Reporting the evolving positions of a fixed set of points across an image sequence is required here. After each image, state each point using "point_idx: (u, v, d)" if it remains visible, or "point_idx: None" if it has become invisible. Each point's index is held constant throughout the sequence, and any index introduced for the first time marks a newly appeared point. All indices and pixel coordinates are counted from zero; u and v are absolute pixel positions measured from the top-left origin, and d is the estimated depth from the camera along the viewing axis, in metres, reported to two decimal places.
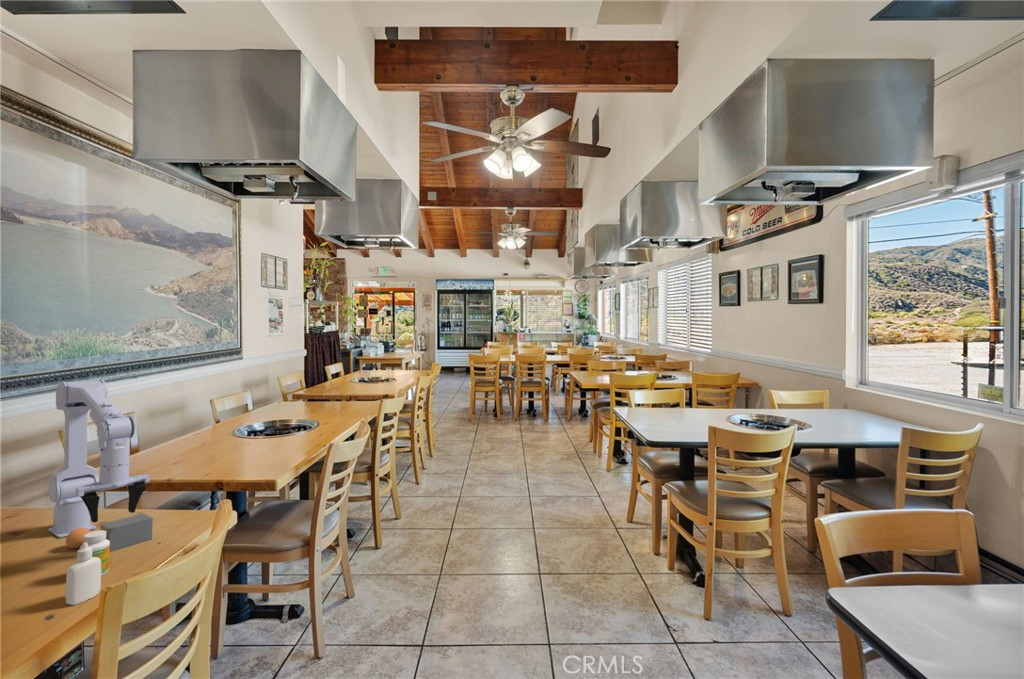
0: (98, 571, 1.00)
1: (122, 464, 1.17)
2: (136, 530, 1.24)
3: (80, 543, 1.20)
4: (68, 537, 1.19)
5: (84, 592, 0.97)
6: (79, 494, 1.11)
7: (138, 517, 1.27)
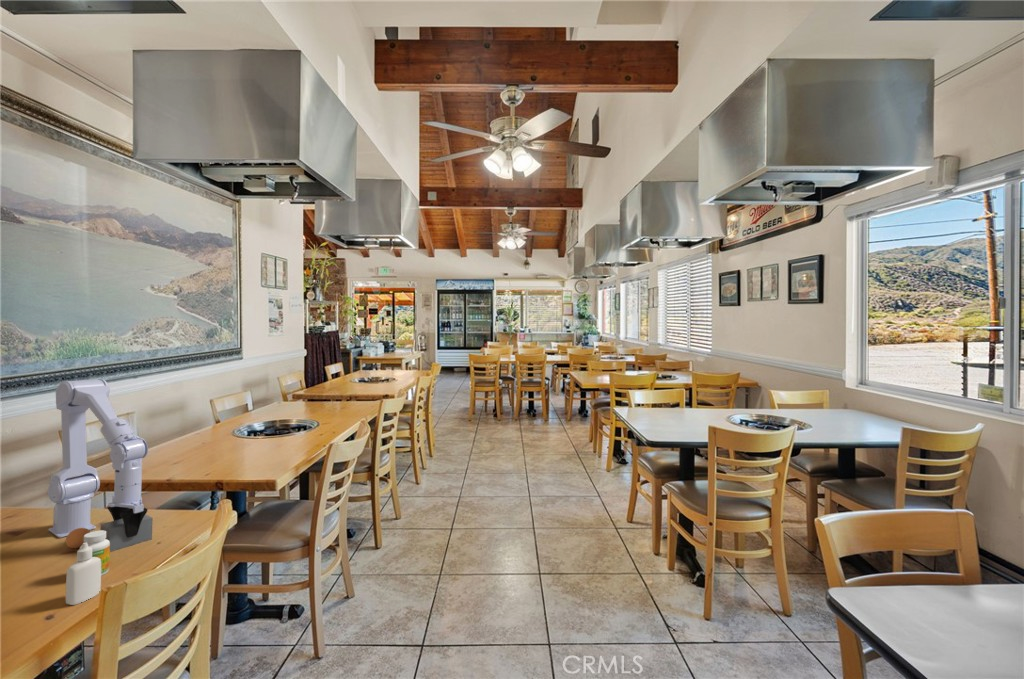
0: (98, 571, 1.00)
1: (116, 486, 1.22)
2: None
3: (80, 543, 1.20)
4: (68, 537, 1.19)
5: (84, 592, 0.97)
6: (112, 500, 1.27)
7: None
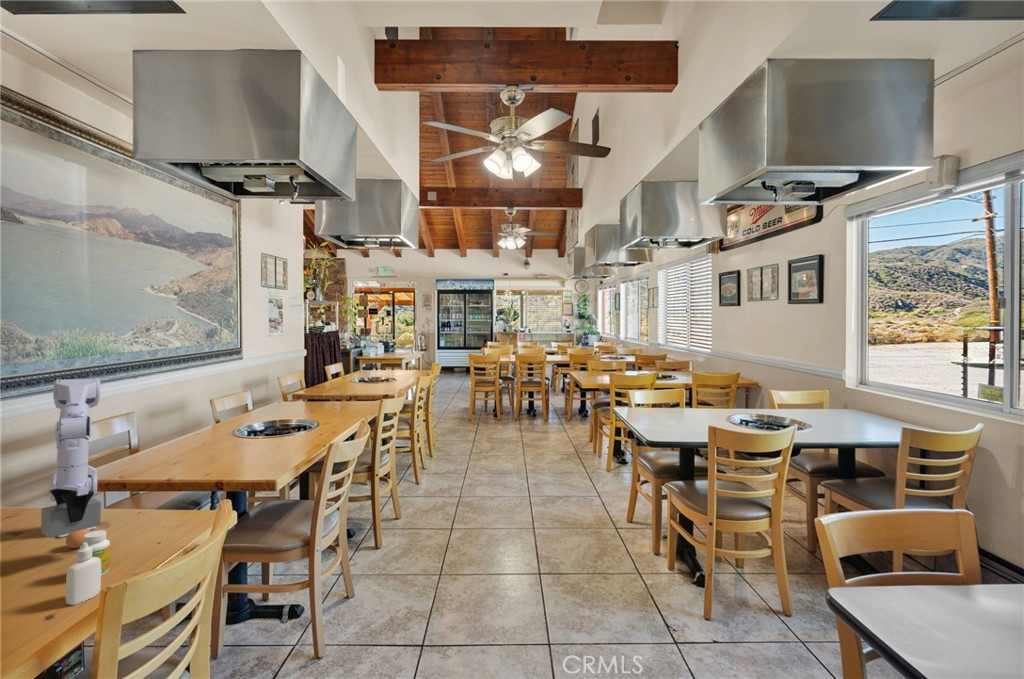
0: (98, 571, 1.00)
1: (58, 466, 1.12)
2: None
3: (80, 543, 1.20)
4: (68, 537, 1.19)
5: (84, 592, 0.97)
6: None
7: None
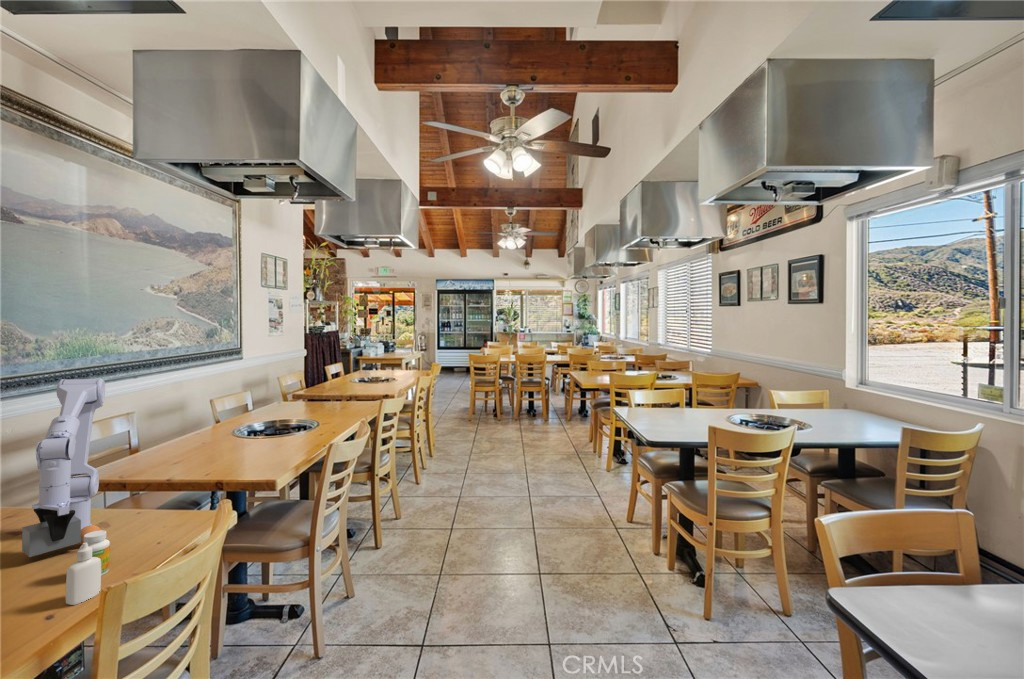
0: (98, 571, 1.00)
1: (41, 486, 1.15)
2: None
3: None
4: (86, 528, 1.22)
5: (84, 592, 0.97)
6: None
7: None
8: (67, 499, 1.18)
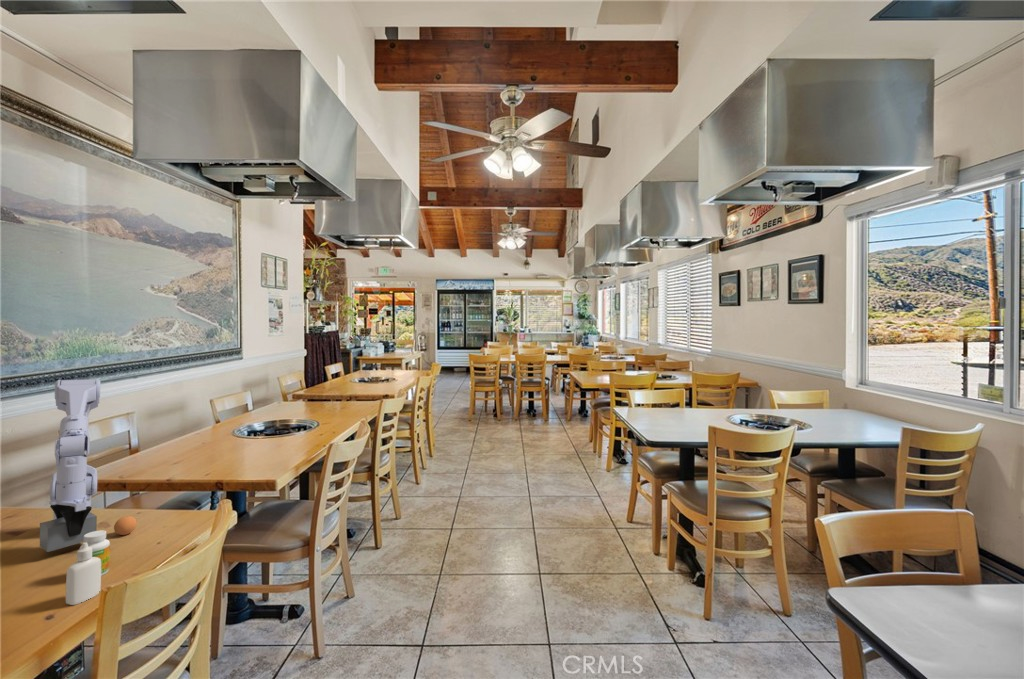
0: (98, 571, 1.00)
1: (58, 483, 1.17)
2: None
3: (132, 525, 1.29)
4: None
5: (84, 592, 0.97)
6: None
7: None
8: (83, 495, 1.21)
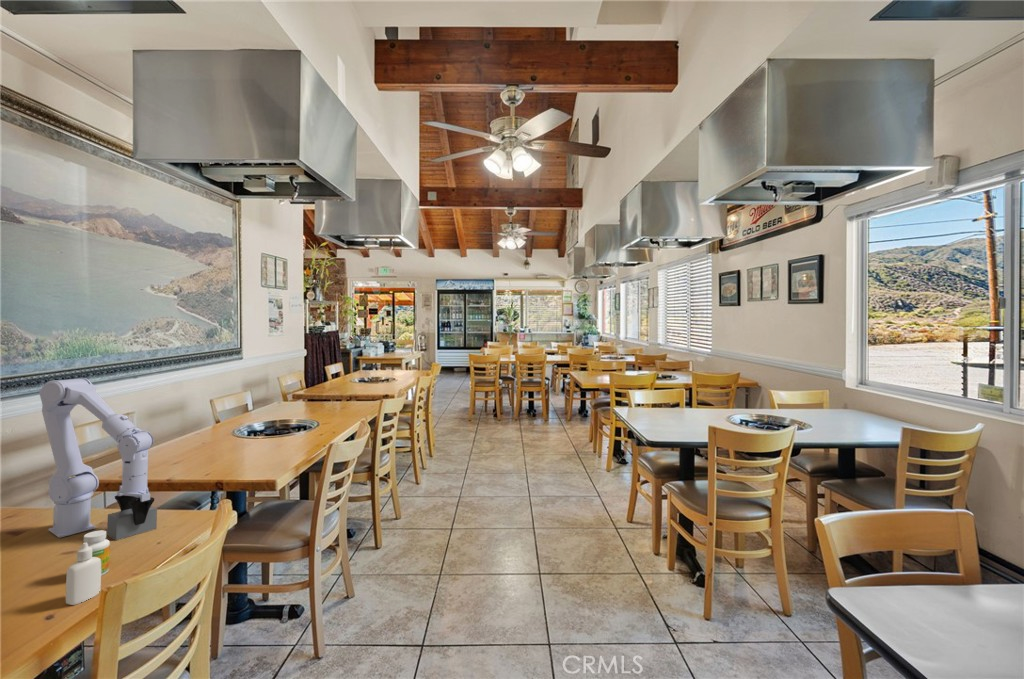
0: (98, 571, 1.00)
1: (124, 476, 1.29)
2: None
3: None
4: None
5: (84, 592, 0.97)
6: None
7: None
8: (145, 487, 1.32)
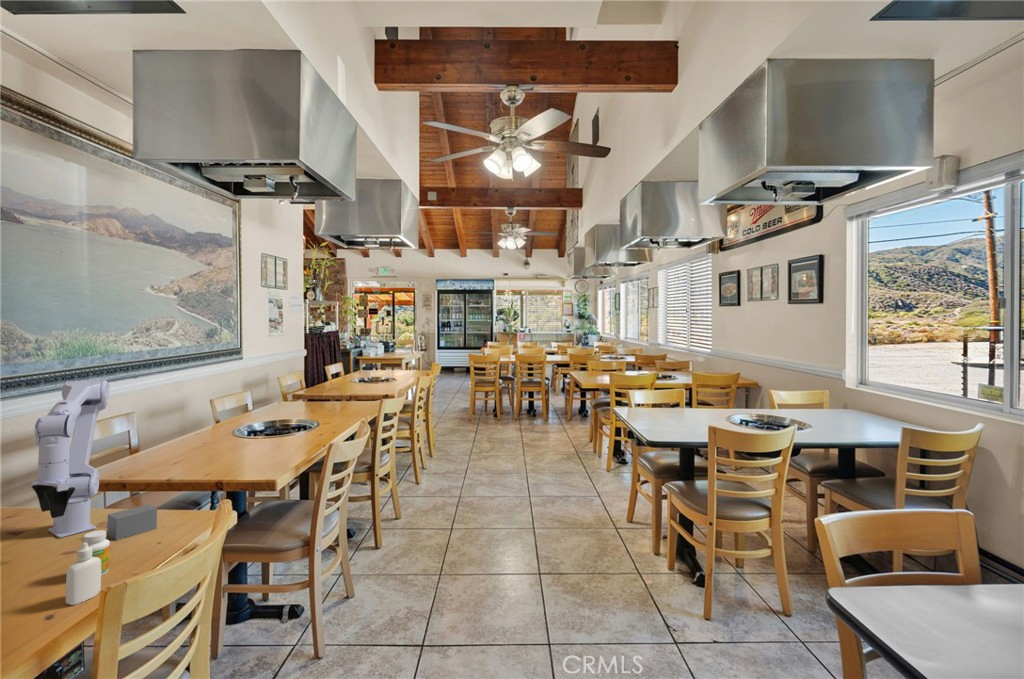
0: (98, 571, 1.00)
1: (40, 463, 1.15)
2: (141, 519, 1.31)
3: None
4: None
5: (84, 592, 0.97)
6: None
7: (143, 508, 1.34)
8: (66, 476, 1.18)
